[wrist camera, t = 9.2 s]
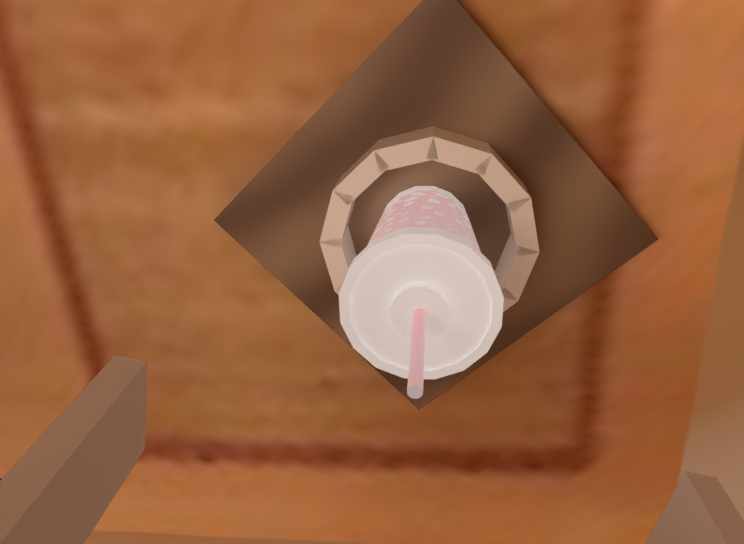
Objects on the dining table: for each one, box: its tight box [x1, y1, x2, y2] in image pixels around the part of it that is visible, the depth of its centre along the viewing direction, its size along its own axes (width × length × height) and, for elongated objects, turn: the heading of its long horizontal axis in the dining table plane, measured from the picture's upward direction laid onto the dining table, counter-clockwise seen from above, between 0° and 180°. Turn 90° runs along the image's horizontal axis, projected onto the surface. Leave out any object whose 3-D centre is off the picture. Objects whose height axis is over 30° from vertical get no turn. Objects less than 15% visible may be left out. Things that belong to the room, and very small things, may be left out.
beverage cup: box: [339, 186, 504, 399], centre depth 23 cm, size 6×6×14 cm
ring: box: [319, 126, 539, 312], centre depth 28 cm, size 10×10×2 cm
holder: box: [214, 0, 658, 409], centre depth 30 cm, size 16×16×2 cm
